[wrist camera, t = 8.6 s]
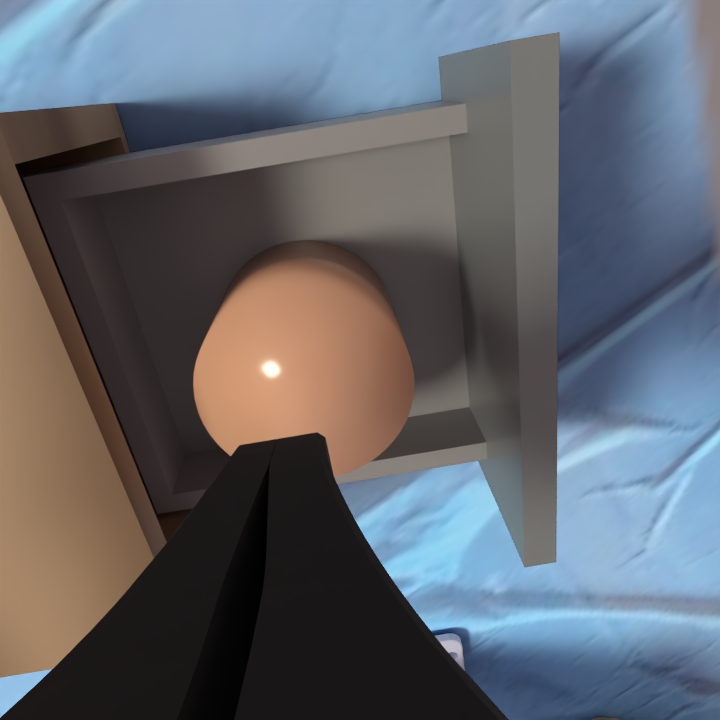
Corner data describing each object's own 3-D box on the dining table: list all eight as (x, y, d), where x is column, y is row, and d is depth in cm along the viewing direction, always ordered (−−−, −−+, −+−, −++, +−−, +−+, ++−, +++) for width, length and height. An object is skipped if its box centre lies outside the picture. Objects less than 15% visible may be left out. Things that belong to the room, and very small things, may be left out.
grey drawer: (469, 51, 14) (559, 31, 9) (491, 434, 19) (556, 561, 14) (54, 121, 14) (-96, 142, 9) (185, 484, 19) (137, 631, 14)
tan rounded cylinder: (394, 394, 18) (414, 472, 14) (233, 405, 17) (211, 488, 14) (392, 234, 15) (414, 280, 12) (208, 245, 15) (174, 294, 12)
